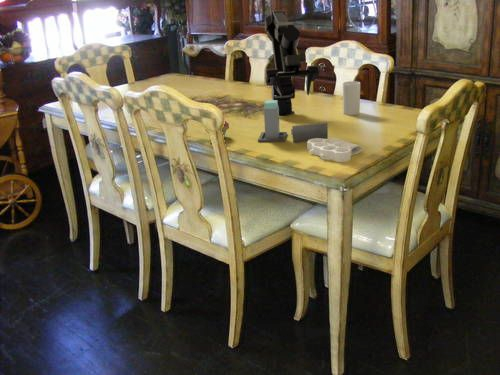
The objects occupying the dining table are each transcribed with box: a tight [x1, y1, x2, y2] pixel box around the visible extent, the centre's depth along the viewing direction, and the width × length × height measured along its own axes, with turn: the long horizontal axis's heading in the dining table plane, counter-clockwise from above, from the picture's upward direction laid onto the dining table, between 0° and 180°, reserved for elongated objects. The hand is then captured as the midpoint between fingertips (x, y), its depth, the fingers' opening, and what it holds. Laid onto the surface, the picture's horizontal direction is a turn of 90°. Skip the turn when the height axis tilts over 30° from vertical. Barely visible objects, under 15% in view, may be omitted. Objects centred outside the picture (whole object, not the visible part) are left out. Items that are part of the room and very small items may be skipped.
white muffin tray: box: [306, 136, 363, 163], centre depth 193 cm, size 3×18×15 cm
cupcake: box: [205, 104, 230, 138], centre depth 213 cm, size 9×8×12 cm
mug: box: [342, 80, 361, 116], centre depth 236 cm, size 10×7×12 cm, turn 17°
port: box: [290, 121, 329, 144], centre depth 209 cm, size 10×12×6 cm
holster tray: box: [257, 131, 288, 143], centre depth 211 cm, size 9×9×1 cm
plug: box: [263, 99, 281, 139], centre depth 209 cm, size 4×4×13 cm
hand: (295, 95), depth 210 cm, fingers open, 9 cm apart
